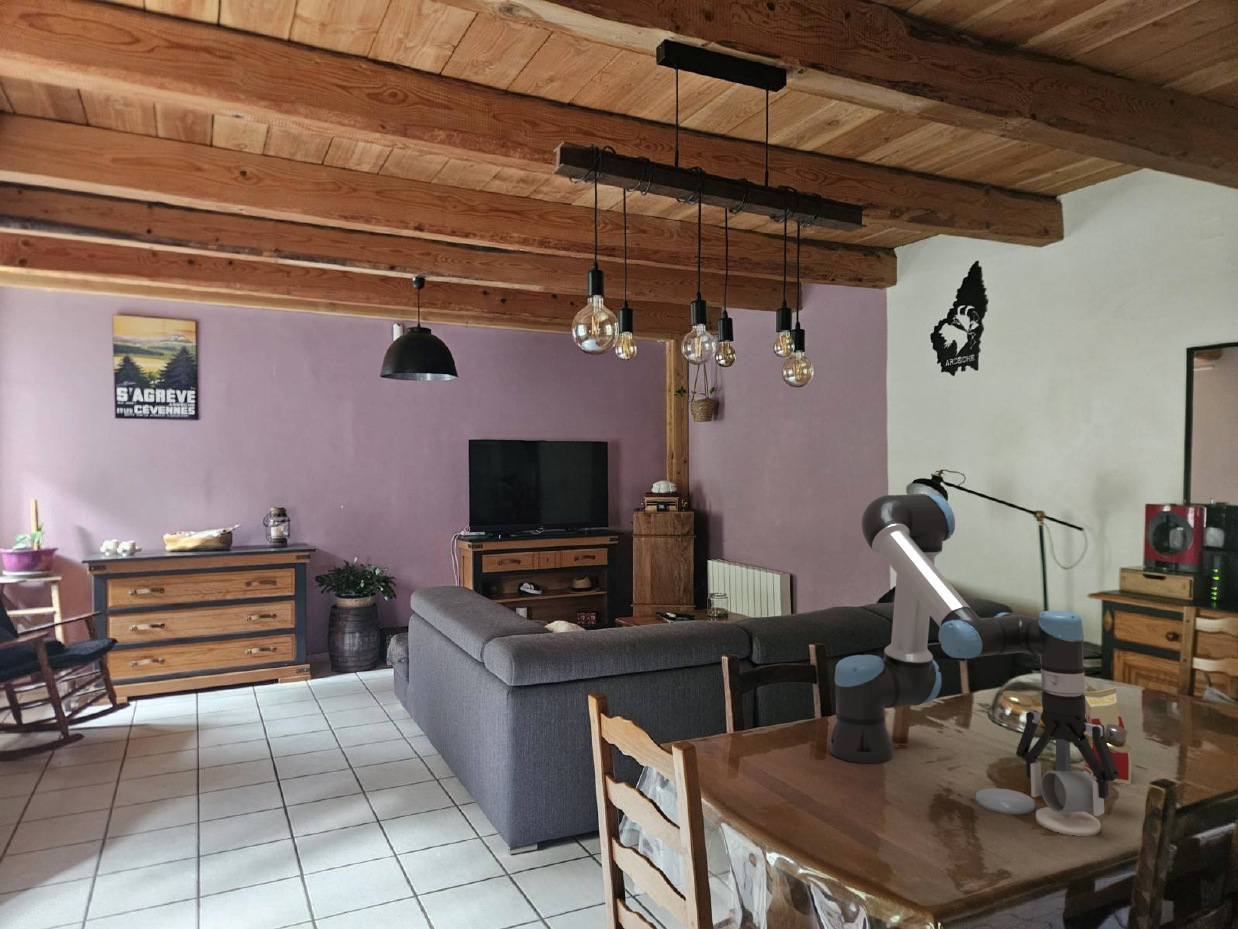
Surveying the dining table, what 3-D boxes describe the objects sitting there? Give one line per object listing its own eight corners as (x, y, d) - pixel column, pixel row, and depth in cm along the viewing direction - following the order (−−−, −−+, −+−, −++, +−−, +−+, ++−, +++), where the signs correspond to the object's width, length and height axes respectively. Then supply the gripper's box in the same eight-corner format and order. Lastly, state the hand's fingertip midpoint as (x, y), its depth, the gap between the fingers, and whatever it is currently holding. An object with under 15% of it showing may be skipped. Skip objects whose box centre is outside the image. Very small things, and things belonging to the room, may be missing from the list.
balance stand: (1031, 794, 171) (1028, 717, 171) (1049, 785, 176) (1046, 710, 176) (1080, 809, 163) (1077, 728, 163) (1098, 799, 168) (1095, 720, 168)
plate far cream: (1025, 822, 157) (1025, 816, 158) (1052, 807, 164) (1052, 802, 164) (1084, 841, 149) (1084, 835, 149) (1110, 825, 155) (1110, 819, 155)
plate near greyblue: (965, 802, 168) (965, 797, 168) (993, 789, 174) (993, 784, 174) (1017, 819, 159) (1017, 814, 159) (1044, 805, 165) (1044, 800, 165)
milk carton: (1126, 771, 183) (1123, 683, 184) (1133, 785, 175) (1130, 693, 175) (1081, 765, 187) (1078, 680, 188) (1085, 779, 179) (1082, 689, 179)
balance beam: (996, 700, 178) (1000, 681, 177) (1009, 695, 182) (1014, 676, 181) (1120, 760, 158) (1126, 739, 157) (1133, 753, 161) (1139, 733, 160)
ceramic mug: (1105, 816, 153) (1103, 775, 153) (1067, 820, 151) (1065, 778, 152) (1066, 796, 163) (1064, 757, 163) (1029, 799, 162) (1028, 760, 162)
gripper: (995, 683, 164) (998, 791, 164) (1120, 708, 145) (1124, 829, 145) (1013, 677, 169) (1017, 782, 168) (1137, 700, 150) (1141, 818, 149)
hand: (1066, 804), depth 156 cm, fingers closed on ceramic mug, 11 cm apart
